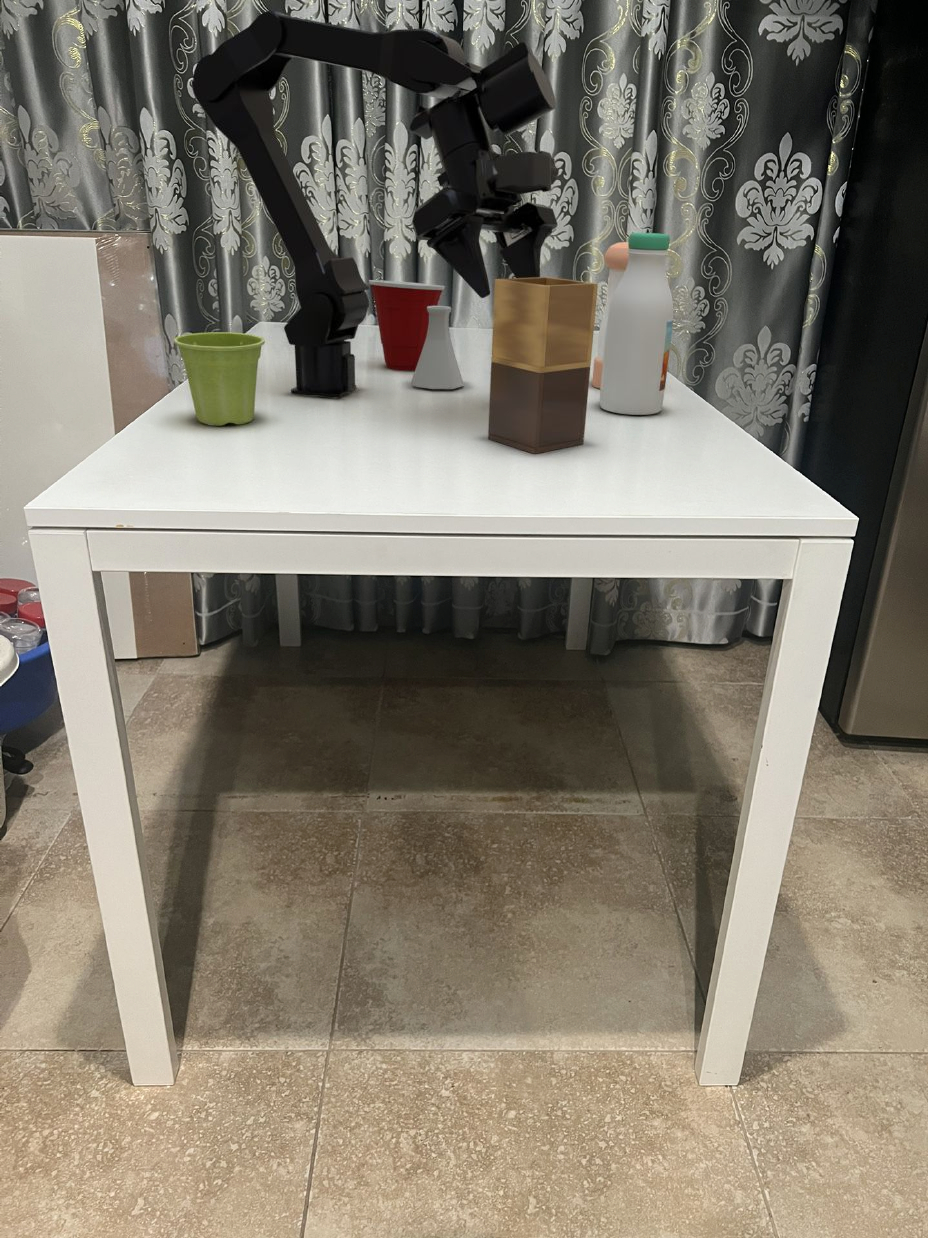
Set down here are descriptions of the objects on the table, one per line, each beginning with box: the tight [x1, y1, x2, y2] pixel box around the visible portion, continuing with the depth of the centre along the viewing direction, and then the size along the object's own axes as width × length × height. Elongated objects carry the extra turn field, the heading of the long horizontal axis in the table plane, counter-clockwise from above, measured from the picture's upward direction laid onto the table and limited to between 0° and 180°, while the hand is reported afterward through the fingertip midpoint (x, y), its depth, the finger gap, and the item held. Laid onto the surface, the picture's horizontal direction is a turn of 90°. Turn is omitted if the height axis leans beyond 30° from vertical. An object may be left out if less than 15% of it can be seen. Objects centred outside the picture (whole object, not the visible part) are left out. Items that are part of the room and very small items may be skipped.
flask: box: [410, 305, 465, 390], centre depth 119 cm, size 7×7×10 cm
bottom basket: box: [487, 361, 591, 455], centre depth 94 cm, size 7×7×8 cm
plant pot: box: [173, 331, 266, 427], centre depth 98 cm, size 9×9×9 cm
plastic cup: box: [368, 279, 445, 372], centre depth 130 cm, size 11×11×12 cm
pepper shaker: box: [591, 236, 629, 390], centre depth 120 cm, size 7×7×19 cm
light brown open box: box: [490, 276, 599, 373], centre depth 91 cm, size 7×7×8 cm
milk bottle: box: [599, 232, 674, 416], centre depth 107 cm, size 8×8×20 cm
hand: (511, 297), depth 98 cm, fingers open, 9 cm apart
